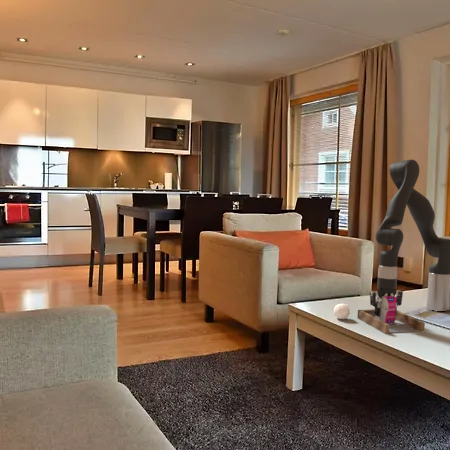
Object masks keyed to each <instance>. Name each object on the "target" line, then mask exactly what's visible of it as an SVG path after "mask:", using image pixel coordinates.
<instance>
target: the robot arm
mask: <svg viewBox="0 0 450 450" xmlns="http://www.w3.org/2000/svg"><path fill="white" fill-rule="evenodd" d="M388 172H389V175H390V178H391V180H392V182H393V184H394V185H395V187H396V189H397V190H398V191H397V192H396V193H395V194H394V195H393V197H392V198H391V199H390V201H389V203H388V206H387V209H386V213H385V217H384V219H383V221H382V222H381V224H380V225H379V227H378V229H377V230H376V233H375V240H376V242H377V244H378V245H382V246H390V247H391V249H389V250H382V251H380V253H379V259H378V262H379V263H378V269H377V283H376V284H377V285H376V286H377V290H376V291H372V290H371V291H369V301H370V306H372V307H374V309H375V312H374V313H375V315H376V316H377V317H379V316H380V308H379V307H380V306H381V304H382V303H383V301H382V300H383V297H387V296H391V297H394V296H395V297H397V299H396V311H397V310H398V308H397V307H398V306H402V303H403V295H404V291H402V290H399V289H398V290H396V289H397V283H398V257H399V252H400V249H401V246H402V245H403V241H404V233H403V230H402V229H400V228H394V227H398V226H401V225H402V224H403V220H404V216H405V212H406V209H407V208H408V211H409V213H410V215H411V217H412V219H413V221H414V223H415V225H416V227H417V229H418V231H419V234H420V236H421V239H422V242H423V245H424V247H425V250H426V252H427V254H428V255H429V256H430V257H432V258H437V263H435V264H431V265H430V266H429V267H428V278H427V279H428V283H427V295H426V296H427V298H426V299H427V300H426V309H427V310H428V311H432V310H434V311H433V312H437V311H447V310H450V238H449V239H448V238H443V237H438V234H436V232H435V230H434V224H435V219H436V215H435V213H436V212H435V210H434V207H433V206H432V204H431V202H430V200H429V199H428V198H427V197H426V196H424V195H423V194H422V193H421V192H419V191H418V190H417V189H415V186H416V183H417V181H418V178H419V176H420V165H419V163H418V162H417V160H415V159H405V160H401V161H395V162H393V163H391V164H390V165H389V171H388ZM377 295H378V296H379V298H382V299H381V300H379V299H378V297H377ZM382 296H383V297H382ZM447 312H448V311H447ZM395 314H396V312H395Z"/></svg>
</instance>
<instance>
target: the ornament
mask: <svg viewBox="0 0 450 450" xmlns="http://www.w3.org/2000/svg"><path fill="white" fill-rule="evenodd" d="M350 311H351V309H350V308H349V304H347V303H346V304H345V303H338V304H336V305H335V306H334V308H333V314H334V316H335V317H336V318H337V319H339V320H346V319H348V318H349V316H350V314H351V312H350Z"/></svg>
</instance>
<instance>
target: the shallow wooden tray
mask: <svg viewBox="0 0 450 450" xmlns="http://www.w3.org/2000/svg"><path fill="white" fill-rule="evenodd" d="M374 312H375V308H373V309H372V308H371V309H357V320H358V319H359V320H360V321H362V322H363V323H365V324H367V325H369V326H371V327H372V328H374V329H376V330H378V331H380V332H381V333H382V334H385V335H389V334H390V333H389V325H390V324H387V323H385V322H383V321H381V320H379V319H377V318H375V316H376V315H375V313H374ZM395 321H398V322H400V323H401V324H406V325H408V326H410V327H412V328H414V329H416V330H418V332H420V333H424V332H425V327H426V326H425V322H423V321H422V320H419V319H417V318H414V317H413V316H412V315H411V316H410V315H408V314H406V313H404V312H402V311H400V310H398V309H397V311H396V314H395Z"/></svg>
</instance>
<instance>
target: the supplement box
mask: <svg viewBox="0 0 450 450" xmlns="http://www.w3.org/2000/svg"><path fill="white" fill-rule="evenodd" d="M377 297H378V299H379V300H381V299H382V298H379V296H378V295H377V296H376V298H377ZM382 297H383V296H382ZM396 299H397V297H396V295H395V296H394V297H391V296H387V297H383V300H382V301H383V303H382V304H381V306H380V307H379V308H380V316H379V317H377V316H375V318H377V319H379V320H381V321H383V322H385V323H387V324H389V325H396V324H395V323H396V322H395V321H396V319H395V312H396Z"/></svg>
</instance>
